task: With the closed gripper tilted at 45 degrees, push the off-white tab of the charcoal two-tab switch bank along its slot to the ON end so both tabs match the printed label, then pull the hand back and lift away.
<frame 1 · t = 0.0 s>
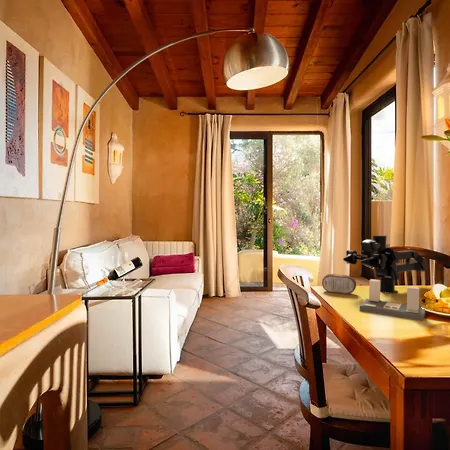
hand: (352, 260, 150), 17 cm above the table, tool horizontal, fingers open, 9 cm apart
tab offwhite: (374, 290, 138), point 7 cm above the table, slide at 0.0 cm
switch bank: (392, 311, 131), on the table
tin: (338, 293, 161), on the table
tab grey: (412, 298, 125), point 7 cm above the table, slide at 6.0 cm
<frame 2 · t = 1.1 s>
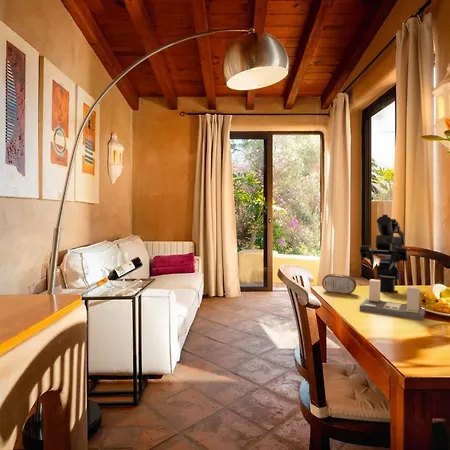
hand: (380, 268, 147), 14 cm above the table, tool tilted 45°, fingers open, 6 cm apart
nothing on the table moved.
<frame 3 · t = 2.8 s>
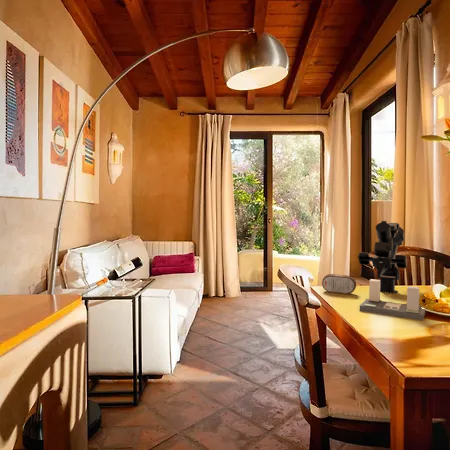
hand: (379, 275, 145), 11 cm above the table, tool tilted 45°, fingers closed
nothing on the table moved.
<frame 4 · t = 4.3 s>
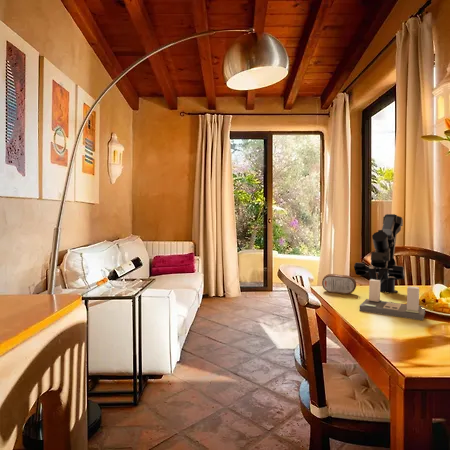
hand: (375, 287, 139), 7 cm above the table, tool tilted 45°, fingers closed, pressing on tab offwhite
tab offwhite: (374, 290, 138), point 7 cm above the table, slide at 0.0 cm, touching gripper
everything else where it was.
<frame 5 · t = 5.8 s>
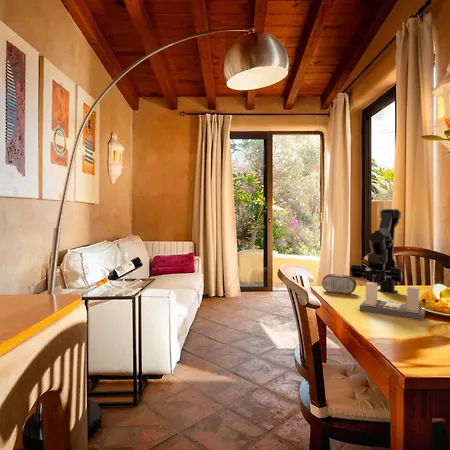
hand: (372, 290, 134), 7 cm above the table, tool tilted 45°, fingers closed, pressing on tab offwhite
tab offwhite: (371, 293, 132), point 7 cm above the table, slide at 6.3 cm, touching gripper
everything else where it was.
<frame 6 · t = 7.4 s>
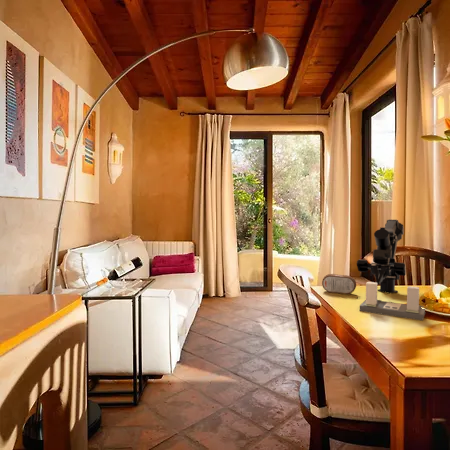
hand: (377, 283, 143), 8 cm above the table, tool tilted 45°, fingers closed
tab offwhite: (371, 293, 133), point 7 cm above the table, slide at 6.1 cm
everything else where it was.
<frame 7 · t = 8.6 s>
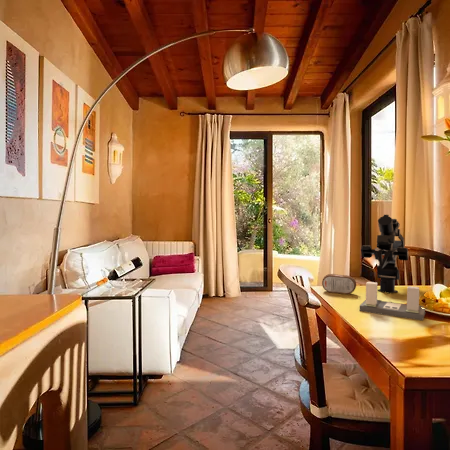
hand: (381, 267, 149), 14 cm above the table, tool tilted 45°, fingers closed
nothing on the table moved.
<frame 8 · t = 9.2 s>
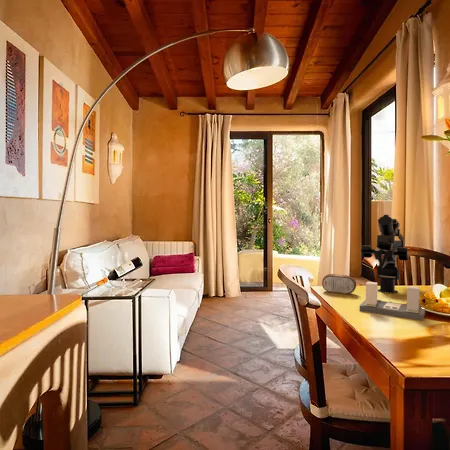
hand: (381, 267, 149), 14 cm above the table, tool tilted 45°, fingers closed
nothing on the table moved.
at the end: tab offwhite slide at 6.1 cm; tab grey slide at 6.0 cm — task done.
